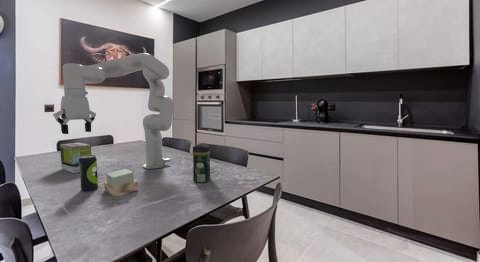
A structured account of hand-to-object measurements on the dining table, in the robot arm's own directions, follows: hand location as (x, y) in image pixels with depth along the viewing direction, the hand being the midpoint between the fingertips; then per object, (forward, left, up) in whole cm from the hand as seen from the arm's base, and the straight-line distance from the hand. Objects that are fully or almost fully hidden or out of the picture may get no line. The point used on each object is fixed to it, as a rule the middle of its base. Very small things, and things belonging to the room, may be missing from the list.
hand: (77, 132), depth 103 cm
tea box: (0, -36, -25) cm, 44 cm away
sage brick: (-14, +16, -20) cm, 29 cm away
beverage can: (-3, +6, -25) cm, 26 cm away
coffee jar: (-49, +22, -25) cm, 59 cm away
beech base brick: (-14, +16, -24) cm, 32 cm away
